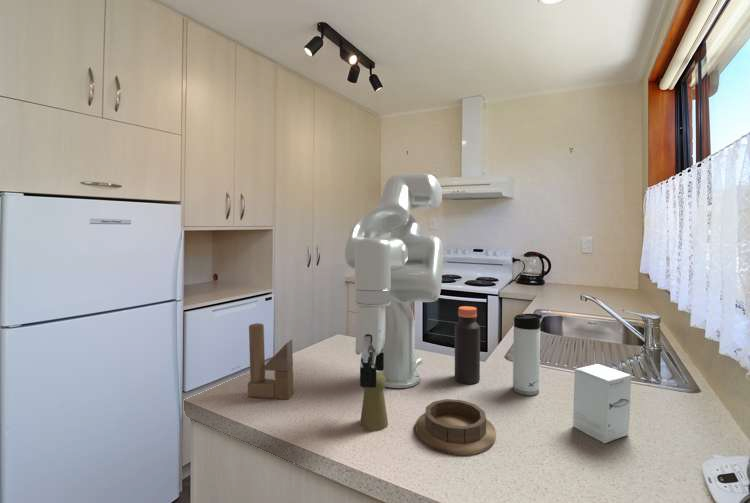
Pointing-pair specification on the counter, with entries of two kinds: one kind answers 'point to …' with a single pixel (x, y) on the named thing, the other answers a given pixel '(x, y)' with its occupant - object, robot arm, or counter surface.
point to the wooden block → (269, 368)
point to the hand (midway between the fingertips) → (372, 377)
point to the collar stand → (455, 428)
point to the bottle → (467, 346)
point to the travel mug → (526, 354)
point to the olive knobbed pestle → (374, 406)
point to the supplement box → (602, 402)
